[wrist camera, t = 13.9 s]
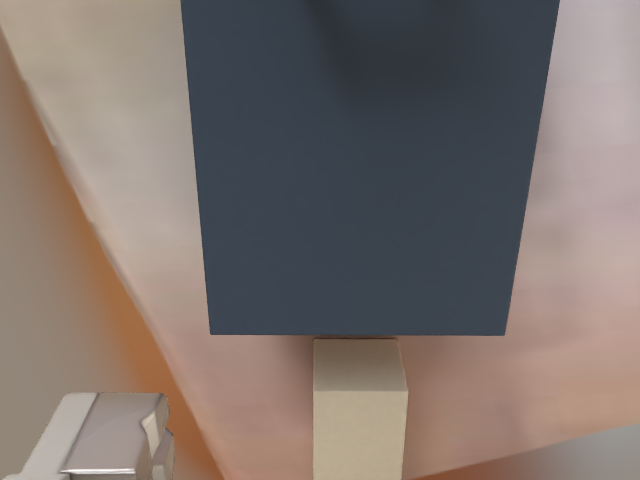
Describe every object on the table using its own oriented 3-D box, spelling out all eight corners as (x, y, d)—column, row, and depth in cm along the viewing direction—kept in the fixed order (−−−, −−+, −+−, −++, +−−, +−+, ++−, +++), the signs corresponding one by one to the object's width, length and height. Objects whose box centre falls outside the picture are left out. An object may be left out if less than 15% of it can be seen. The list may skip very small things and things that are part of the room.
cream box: (313, 338, 33) (312, 391, 29) (397, 338, 33) (408, 391, 29) (313, 426, 36) (313, 486, 32) (391, 426, 36) (400, 486, 32)
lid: (175, -120, 17) (129, -148, 13) (569, -118, 17) (649, -145, 13) (213, 324, 24) (190, 400, 20) (499, 324, 24) (538, 400, 20)
